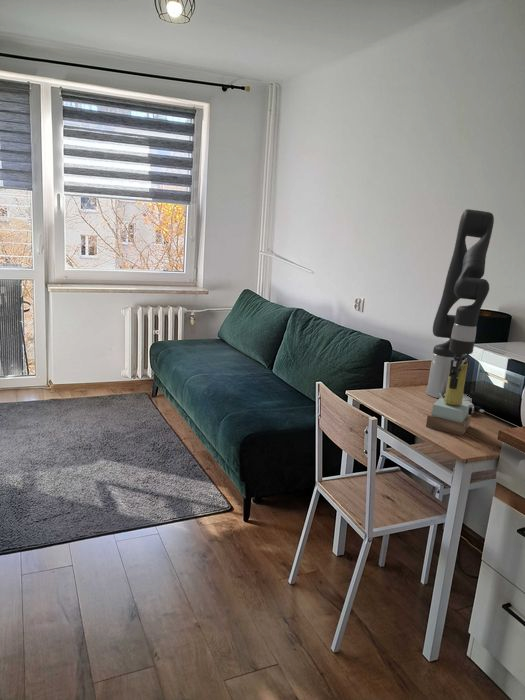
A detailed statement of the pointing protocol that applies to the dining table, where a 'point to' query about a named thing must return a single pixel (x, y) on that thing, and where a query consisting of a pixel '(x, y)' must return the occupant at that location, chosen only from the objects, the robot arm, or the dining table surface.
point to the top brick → (450, 410)
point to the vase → (456, 394)
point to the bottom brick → (448, 424)
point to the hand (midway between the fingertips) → (454, 386)
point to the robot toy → (468, 400)
